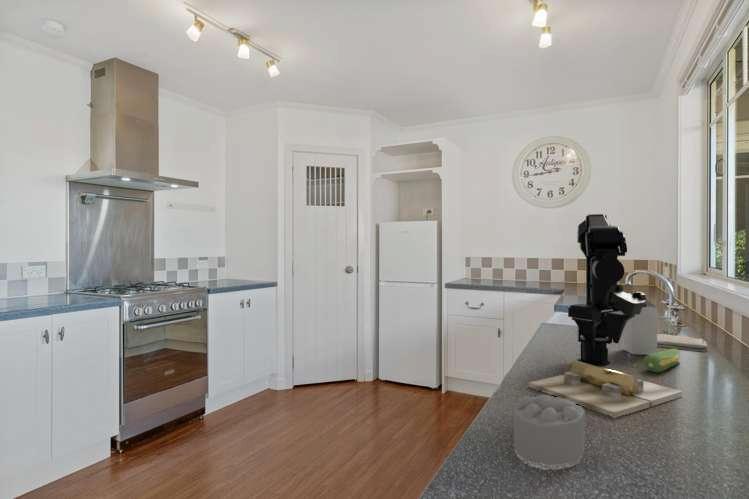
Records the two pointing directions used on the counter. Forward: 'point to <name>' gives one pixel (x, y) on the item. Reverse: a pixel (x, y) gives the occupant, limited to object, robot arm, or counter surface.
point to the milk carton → (641, 331)
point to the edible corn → (661, 360)
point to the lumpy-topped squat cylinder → (549, 429)
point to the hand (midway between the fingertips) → (604, 345)
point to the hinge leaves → (605, 394)
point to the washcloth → (681, 342)
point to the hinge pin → (605, 377)
